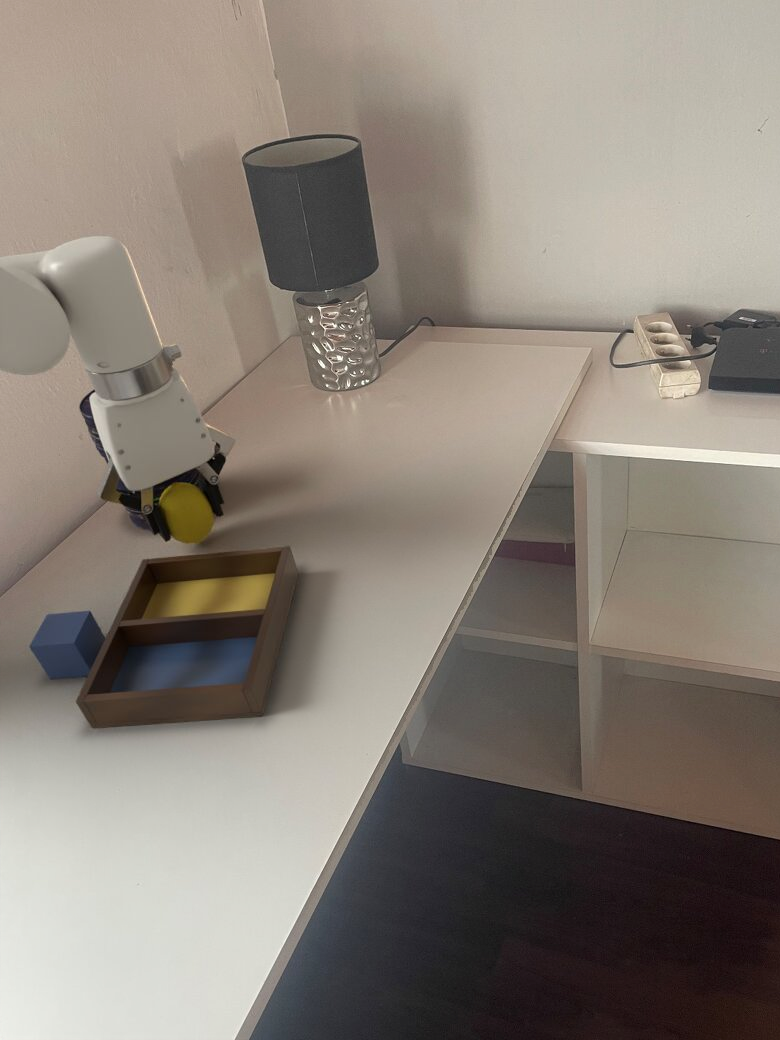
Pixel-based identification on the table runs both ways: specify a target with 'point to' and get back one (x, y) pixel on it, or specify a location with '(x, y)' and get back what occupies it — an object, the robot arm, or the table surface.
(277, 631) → the sorting tray
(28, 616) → the table surface
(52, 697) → the table surface
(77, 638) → the blue block
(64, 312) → the robot arm
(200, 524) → the lemon
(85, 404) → the storage jar
